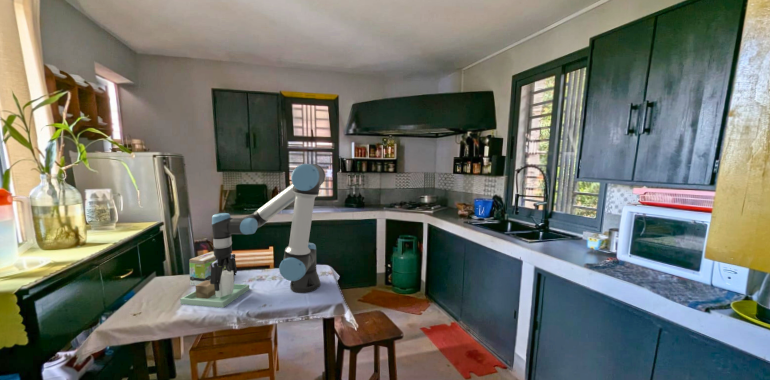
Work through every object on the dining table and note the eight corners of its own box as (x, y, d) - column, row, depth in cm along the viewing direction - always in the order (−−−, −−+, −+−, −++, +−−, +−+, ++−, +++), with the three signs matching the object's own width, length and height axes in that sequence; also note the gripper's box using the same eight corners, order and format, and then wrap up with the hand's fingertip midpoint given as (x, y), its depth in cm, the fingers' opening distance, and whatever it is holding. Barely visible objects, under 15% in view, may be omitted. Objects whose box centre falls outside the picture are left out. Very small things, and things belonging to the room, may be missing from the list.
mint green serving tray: (249, 290, 143) (249, 284, 143) (223, 308, 125) (222, 302, 124) (211, 287, 146) (211, 282, 146) (180, 305, 128) (180, 298, 128)
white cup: (229, 288, 140) (228, 268, 139) (237, 292, 135) (236, 272, 134) (212, 294, 134) (211, 273, 133) (220, 298, 129) (219, 277, 128)
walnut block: (217, 293, 139) (216, 281, 138) (207, 298, 133) (206, 286, 132) (206, 292, 140) (205, 280, 139) (196, 297, 134) (195, 285, 133)
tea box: (206, 288, 146) (204, 260, 144) (189, 286, 148) (187, 259, 146) (227, 276, 160) (226, 251, 159) (212, 275, 162) (211, 250, 161)
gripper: (230, 240, 143) (232, 283, 145) (198, 252, 123) (201, 302, 125) (243, 240, 142) (246, 284, 144) (213, 253, 122) (216, 303, 124)
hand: (225, 292), depth 134 cm, fingers closed on white cup, 7 cm apart
